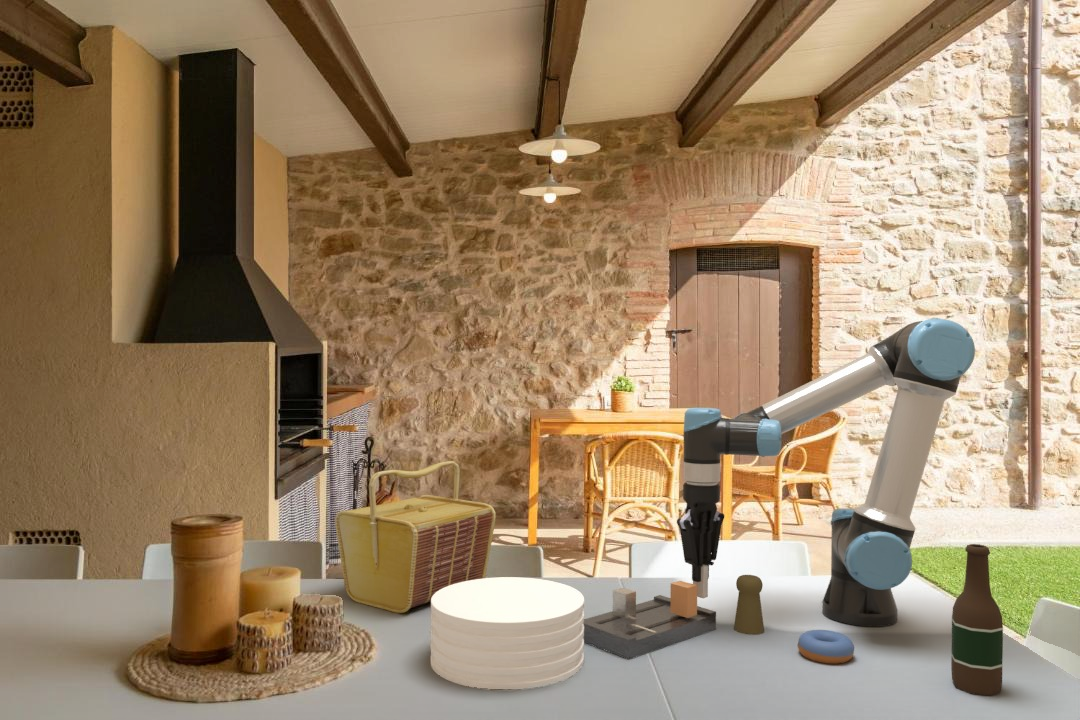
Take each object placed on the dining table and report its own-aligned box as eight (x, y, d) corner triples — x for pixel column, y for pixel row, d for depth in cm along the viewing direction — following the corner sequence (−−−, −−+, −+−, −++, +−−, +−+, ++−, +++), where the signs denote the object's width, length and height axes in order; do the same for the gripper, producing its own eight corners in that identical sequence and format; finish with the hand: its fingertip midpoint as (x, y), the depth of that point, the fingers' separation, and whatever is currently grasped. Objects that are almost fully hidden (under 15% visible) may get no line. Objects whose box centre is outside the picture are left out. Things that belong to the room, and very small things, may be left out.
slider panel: (715, 629, 167) (716, 590, 167) (628, 659, 150) (628, 615, 150) (659, 611, 179) (660, 574, 179) (572, 637, 162) (573, 597, 162)
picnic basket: (420, 572, 210) (420, 455, 210) (499, 590, 195) (500, 463, 194) (329, 599, 186) (330, 467, 186) (411, 622, 171) (412, 478, 171)
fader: (696, 614, 165) (697, 585, 165) (687, 618, 164) (687, 588, 164) (679, 609, 169) (680, 580, 169) (670, 612, 167) (670, 583, 167)
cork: (765, 635, 164) (765, 580, 164) (734, 633, 165) (734, 578, 165) (763, 626, 170) (763, 573, 170) (733, 623, 171) (733, 571, 171)
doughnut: (855, 668, 146) (854, 641, 147) (796, 663, 150) (795, 637, 150) (854, 654, 156) (853, 630, 156) (799, 650, 159) (798, 626, 160)
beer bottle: (941, 678, 142) (942, 540, 142) (983, 677, 143) (985, 540, 143) (968, 697, 135) (969, 551, 134) (1013, 696, 135) (1014, 550, 135)
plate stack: (465, 703, 132) (466, 632, 131) (409, 647, 156) (410, 587, 156) (613, 673, 144) (613, 608, 144) (540, 626, 169) (540, 570, 169)
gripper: (706, 477, 177) (705, 586, 177) (666, 483, 168) (665, 597, 168) (735, 481, 171) (734, 594, 171) (695, 487, 163) (694, 606, 163)
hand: (700, 596), depth 170 cm, fingers closed
